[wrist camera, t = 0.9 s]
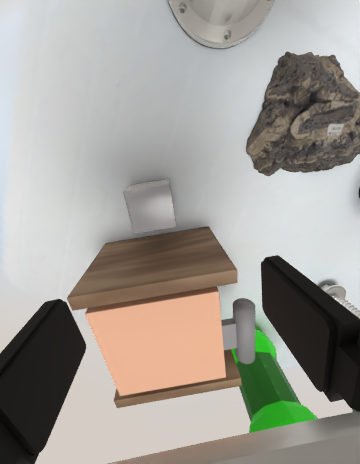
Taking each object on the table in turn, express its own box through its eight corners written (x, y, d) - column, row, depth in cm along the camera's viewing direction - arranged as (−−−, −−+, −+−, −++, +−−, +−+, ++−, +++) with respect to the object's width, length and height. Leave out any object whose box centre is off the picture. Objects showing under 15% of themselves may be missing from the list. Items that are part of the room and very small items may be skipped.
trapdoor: (90, 302, 21) (82, 319, 19) (249, 275, 21) (259, 289, 19) (122, 381, 26) (118, 402, 24) (250, 359, 26) (258, 377, 24)
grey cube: (131, 184, 28) (123, 190, 22) (168, 178, 28) (169, 183, 22) (139, 219, 30) (134, 233, 24) (174, 214, 30) (176, 226, 24)
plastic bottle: (255, 355, 43) (362, 584, 20) (212, 350, 41) (273, 594, 18) (273, 321, 40) (426, 551, 16) (226, 315, 38) (324, 559, 15)
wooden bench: (105, 243, 31) (66, 298, 18) (208, 226, 31) (236, 269, 19) (132, 327, 37) (117, 408, 25) (216, 313, 38) (241, 385, 26)
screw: (309, 288, 37) (331, 274, 36) (318, 303, 39) (339, 290, 38) (378, 350, 25) (414, 332, 24) (387, 368, 27) (421, 351, 26)
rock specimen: (246, 57, 24) (243, 179, 29) (261, 38, 20) (255, 182, 26) (388, 44, 24) (360, 166, 30) (428, 24, 21) (387, 166, 26)
